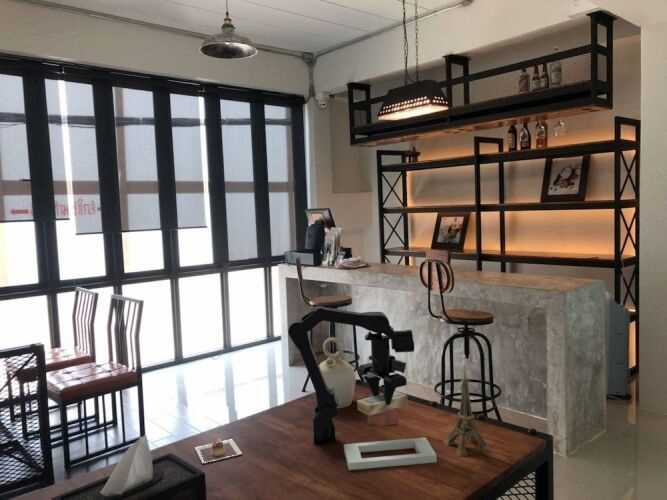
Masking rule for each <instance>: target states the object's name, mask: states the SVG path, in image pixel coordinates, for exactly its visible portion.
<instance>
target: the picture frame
mask: <svg viewBox="0 0 667 500" xmlns="http://www.w3.org/2000/svg"><path fill="white" fill-rule="evenodd" d="M408 397H409V396H408V394H406V393H402V392H400V391H399V390H396V389H395V391H394V394H393V397H392V400H391V403H390V405H387V404H386V402H385V399H384V395H383V393H381V394H380V393H379V395H376V396H373V395H372V396H369V397H366V398H362V399H358V400H356V402H357V404H356V405H357V410H358V411H359V412H361V413H363V414H364V415H366V416H367V417H368V416H370V415H373V414H377V413H380V412H384V411H387V410H391V409H394V408H395V409H397V408H401V407H405V406H408V403H409V402H408V400H409V399H408Z"/></svg>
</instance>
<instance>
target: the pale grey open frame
mask: <svg viewBox="0 0 667 500" xmlns="http://www.w3.org/2000/svg"><path fill="white" fill-rule="evenodd" d="M404 449H415V452H416V453H411V454H410V453H409V454H398V455H397V454H396V455H387V456H377V457H376V456H375V457H365V458H363V457H362V455H361V453H370V452H371V453H372V452H380V451H381V452H383V451H394V450H404ZM343 453H344V457H345V459H346V464H347V467H348V470H349V471H353V470H367V469H374V468H388V467H398V466H399V467H400V466H409V465H419V464H430V463H432V464H433V463H437V462H438V461H437V459H438V457H437V456H438V455H437V453H436V451H435V450H434V448H432V446H431V444H430V442H429V441H428V439H427V438H426V437H416V438H414V437H413V438H403V439H391V440H390V439H389V440H379V441H370V442H354V443H346V444H344V443H343Z"/></svg>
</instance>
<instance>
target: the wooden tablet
mask: <svg viewBox="0 0 667 500" xmlns="http://www.w3.org/2000/svg"><path fill="white" fill-rule="evenodd" d="M367 423H368V426H369V425H370V427H378V426H383V425H384V426H383V427H395V426H397V424H398V415H397V412H396V408H394V409H391V410H387V411H384V412H380V413H377V414H373V415H370V416H368V415H367ZM377 425H378V426H377Z"/></svg>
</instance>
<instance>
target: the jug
mask: <svg viewBox="0 0 667 500" xmlns="http://www.w3.org/2000/svg"><path fill="white" fill-rule="evenodd" d="M329 343H335V344H337V346H338V347H339V349H338V350H337V351H336V352H335V353H331V352H329V350H328V345H329ZM322 349H323V353H324V354H325V355H326V357H327V359H326V360H323V361H322V362H320V364H319V367H320V369H321V372H322V374H323V377H324V380H325V382H326V385H327V386H328V387H329V389H332V388H334V390H335V394H336V396H337V397H338V406H337V409H343V408H346V407H348V406H350V405H351V404H352V402H353V399H354V392H355V387H356V373H355V371H354V370H355V369H354V368H353V366H352V365H351V364H350V363H349V362H348V361H345V360H344V359H342V355H343V353H344V344H343V342H342V341H341V340H340V339H339V338H337V337H333V336H332V337H328V338H326V340H325V341H324V343H323V345H322Z"/></svg>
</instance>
